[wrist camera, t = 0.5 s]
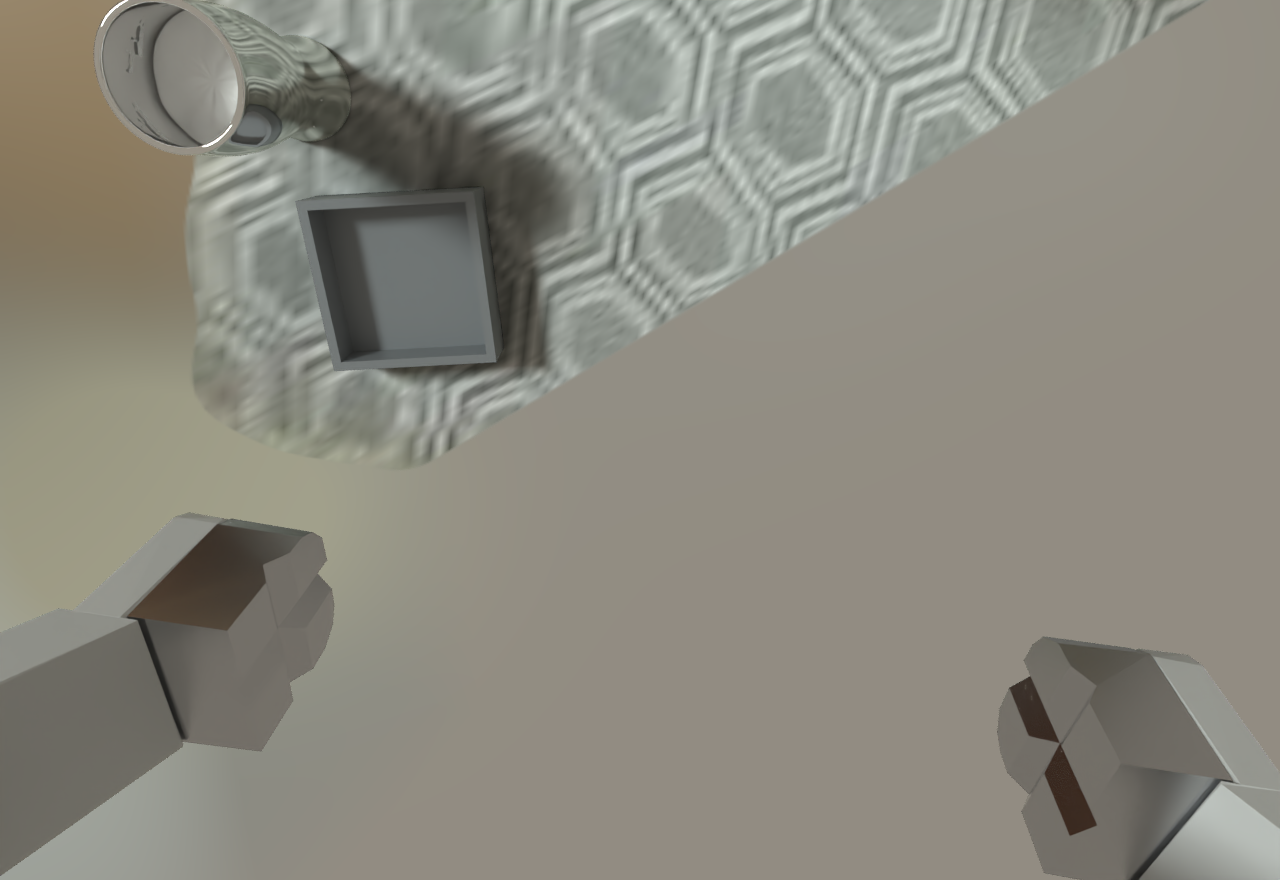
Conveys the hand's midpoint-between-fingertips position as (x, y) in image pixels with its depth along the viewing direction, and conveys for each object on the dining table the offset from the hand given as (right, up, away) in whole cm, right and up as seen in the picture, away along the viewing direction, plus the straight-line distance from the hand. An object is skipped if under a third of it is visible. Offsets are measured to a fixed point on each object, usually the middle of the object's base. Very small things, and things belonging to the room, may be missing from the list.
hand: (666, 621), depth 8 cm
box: (-16, +14, +43) cm, 48 cm away
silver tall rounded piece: (-22, +24, +38) cm, 50 cm away
